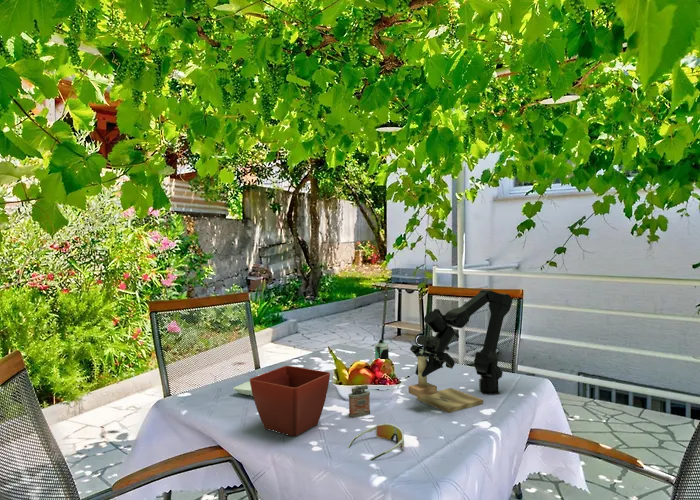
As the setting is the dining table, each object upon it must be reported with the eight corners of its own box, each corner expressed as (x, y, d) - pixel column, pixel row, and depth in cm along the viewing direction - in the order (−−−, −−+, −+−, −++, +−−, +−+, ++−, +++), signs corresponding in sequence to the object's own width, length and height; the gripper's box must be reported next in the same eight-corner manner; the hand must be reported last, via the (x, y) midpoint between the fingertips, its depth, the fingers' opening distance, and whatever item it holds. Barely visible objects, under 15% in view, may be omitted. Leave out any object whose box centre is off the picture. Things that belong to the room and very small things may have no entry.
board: (450, 391, 190) (450, 387, 190) (483, 403, 176) (483, 399, 176) (417, 399, 181) (417, 395, 181) (448, 413, 167) (448, 408, 167)
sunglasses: (414, 449, 139) (412, 432, 138) (374, 471, 130) (371, 454, 130) (383, 433, 150) (381, 418, 150) (344, 453, 142) (341, 437, 141)
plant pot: (296, 444, 143) (295, 387, 143) (248, 431, 153) (247, 378, 153) (332, 423, 160) (331, 372, 159) (287, 412, 170) (286, 365, 169)
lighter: (351, 418, 163) (351, 389, 163) (347, 415, 166) (346, 386, 166) (372, 414, 167) (371, 385, 167) (367, 411, 170) (366, 383, 170)
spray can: (388, 390, 193) (387, 340, 193) (374, 390, 194) (373, 340, 194) (389, 386, 198) (389, 338, 198) (376, 386, 199) (375, 337, 199)
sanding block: (425, 388, 176) (425, 353, 176) (437, 393, 171) (436, 356, 171) (408, 393, 172) (407, 356, 172) (419, 397, 167) (418, 360, 167)
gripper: (413, 323, 181) (390, 356, 176) (447, 330, 165) (423, 367, 160) (429, 341, 186) (407, 374, 180) (465, 349, 170) (442, 386, 164)
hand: (419, 375), depth 171 cm, fingers closed on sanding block, 3 cm apart
